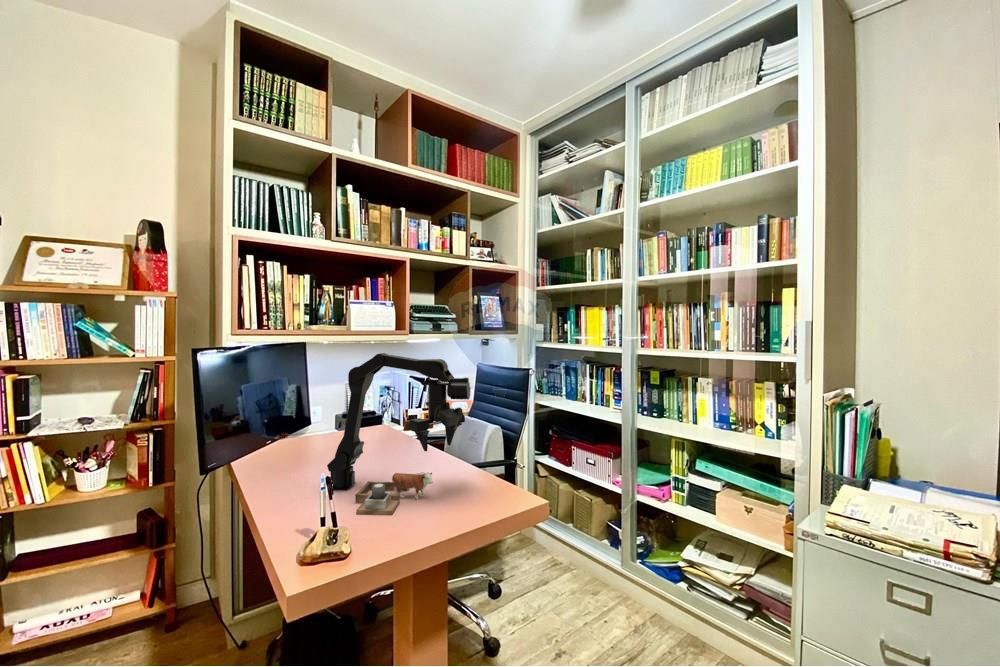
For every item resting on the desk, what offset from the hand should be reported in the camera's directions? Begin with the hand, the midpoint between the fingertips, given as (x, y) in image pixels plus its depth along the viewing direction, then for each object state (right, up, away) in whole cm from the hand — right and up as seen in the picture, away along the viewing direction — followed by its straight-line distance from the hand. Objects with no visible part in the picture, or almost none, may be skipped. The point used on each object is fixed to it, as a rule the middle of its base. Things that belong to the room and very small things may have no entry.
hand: (437, 448), depth 130 cm
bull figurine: (-7, -14, -4) cm, 16 cm away
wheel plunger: (-15, -10, -13) cm, 22 cm away
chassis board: (-16, -14, -7) cm, 23 cm away
